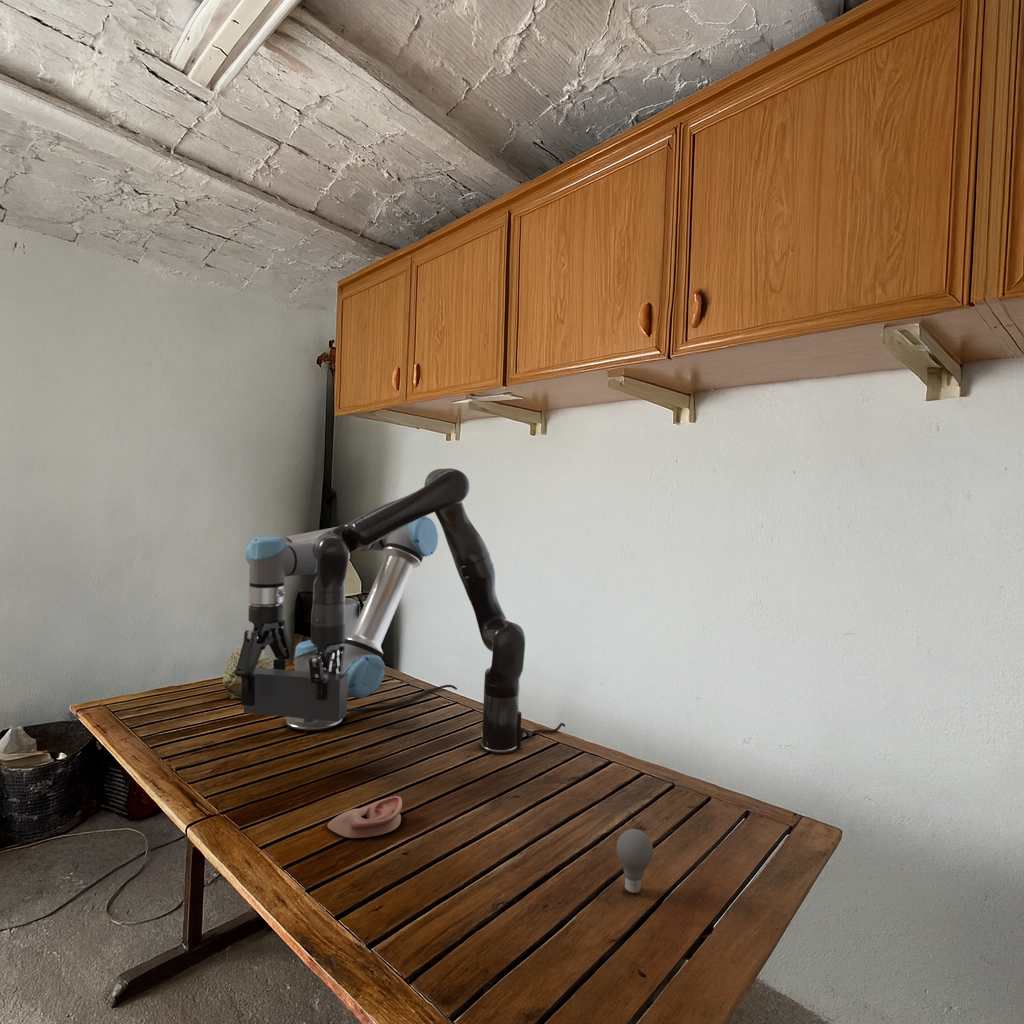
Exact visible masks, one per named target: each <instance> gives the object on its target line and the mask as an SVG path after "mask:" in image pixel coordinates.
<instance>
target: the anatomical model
mask: <svg viewBox="0 0 1024 1024" xmlns="http://www.w3.org/2000/svg"><path fill="white" fill-rule="evenodd" d="M402 808H403V799H402V797H401V796H399V795H395V796H389V797H385V798H383V799H379V800H376V801H374V802H372V803H369V804H367V805H365V806H362V807H359V808H353V809H349V810H346V811H344V812H341V813H340V814H338V815H337V816H335V817H334V818H332V819H331V820H330V821H329V822H328V823H327V828H328V829H329V830H330V831H331V832H333V833H335V834H337V835H339V836H340V837H341V836H342V837H344V838H347V839H360V838H370V837H371V838H372V837H377V836H382V835H384V834H387V833H390V832H392V831H394V830H396V829H397V828H398V827H399V826H400V824H401V822H402V815H401V811H402Z"/></svg>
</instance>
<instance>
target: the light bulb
mask: <svg viewBox="0 0 1024 1024" xmlns="http://www.w3.org/2000/svg"><path fill="white" fill-rule="evenodd" d="M615 849H616V854H617V857H618V859H619V861H620V863H621V865H622V867H623V873H624V874H623V875H624V876H625V878H624V888H625V890H627V891H628V892H630V893H634V894H635V893H639V892H640V891H641V889H642V887H641V886H642V879H643V877H644V875H645V871H646V868H647V867H648V866H649V864H650V863H651V861H652V859H653V855H654V847H653V843H652V841H651V838H649V836H648V835H647V834H646V833H645V832H643V831H642V830H641V829H636V828H629V829H627V830H625V831H623V832H622V833H621V834H620V835H619V837H618V839H617V841H616V847H615Z"/></svg>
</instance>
